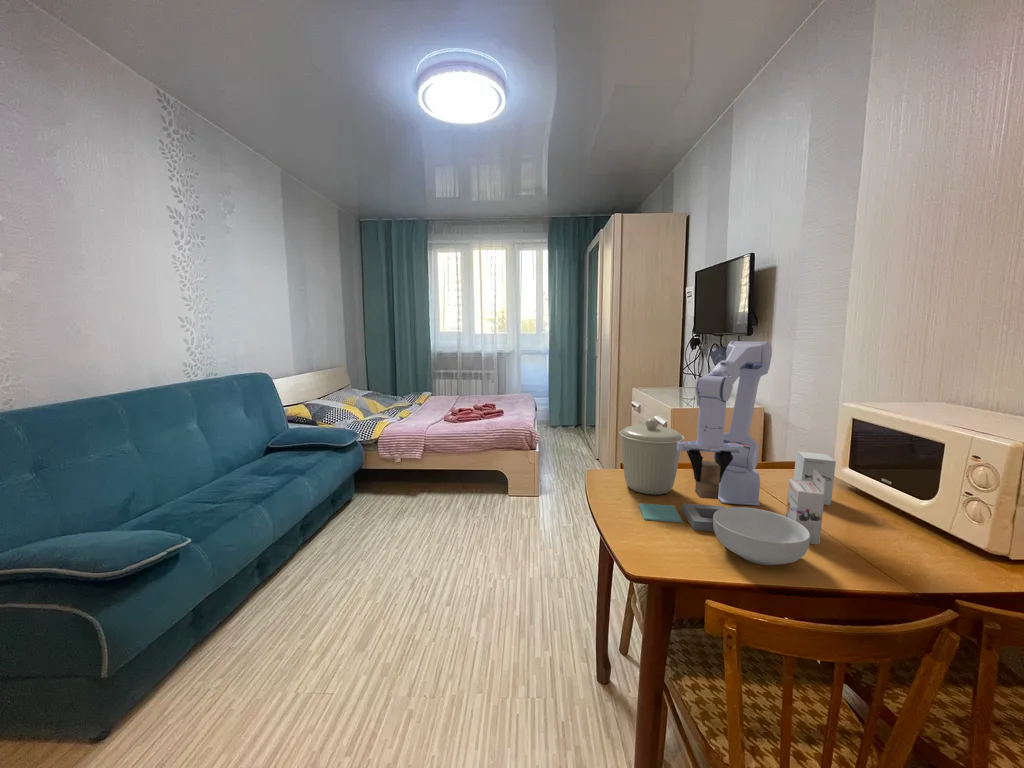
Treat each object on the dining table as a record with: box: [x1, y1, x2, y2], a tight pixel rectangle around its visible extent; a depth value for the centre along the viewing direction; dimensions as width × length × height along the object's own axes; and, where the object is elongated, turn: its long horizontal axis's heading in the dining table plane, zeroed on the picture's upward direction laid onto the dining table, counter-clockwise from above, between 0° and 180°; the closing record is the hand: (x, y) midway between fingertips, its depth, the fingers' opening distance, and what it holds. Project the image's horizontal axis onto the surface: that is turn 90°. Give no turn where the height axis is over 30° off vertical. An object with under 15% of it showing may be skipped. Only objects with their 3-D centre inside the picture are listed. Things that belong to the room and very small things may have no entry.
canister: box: [618, 418, 686, 496], centre depth 118 cm, size 18×18×21 cm
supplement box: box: [793, 450, 837, 506], centre depth 112 cm, size 7×7×13 cm
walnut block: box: [694, 460, 720, 500], centre depth 97 cm, size 4×4×8 cm
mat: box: [638, 502, 684, 524], centre depth 103 cm, size 9×9×1 cm
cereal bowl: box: [712, 506, 810, 566], centre depth 83 cm, size 17×17×7 cm
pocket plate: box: [681, 503, 726, 533], centre depth 98 cm, size 10×10×2 cm
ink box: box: [785, 469, 826, 545], centre depth 91 cm, size 8×5×15 cm, turn 158°
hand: (707, 480), depth 97 cm, fingers closed on walnut block, 4 cm apart
